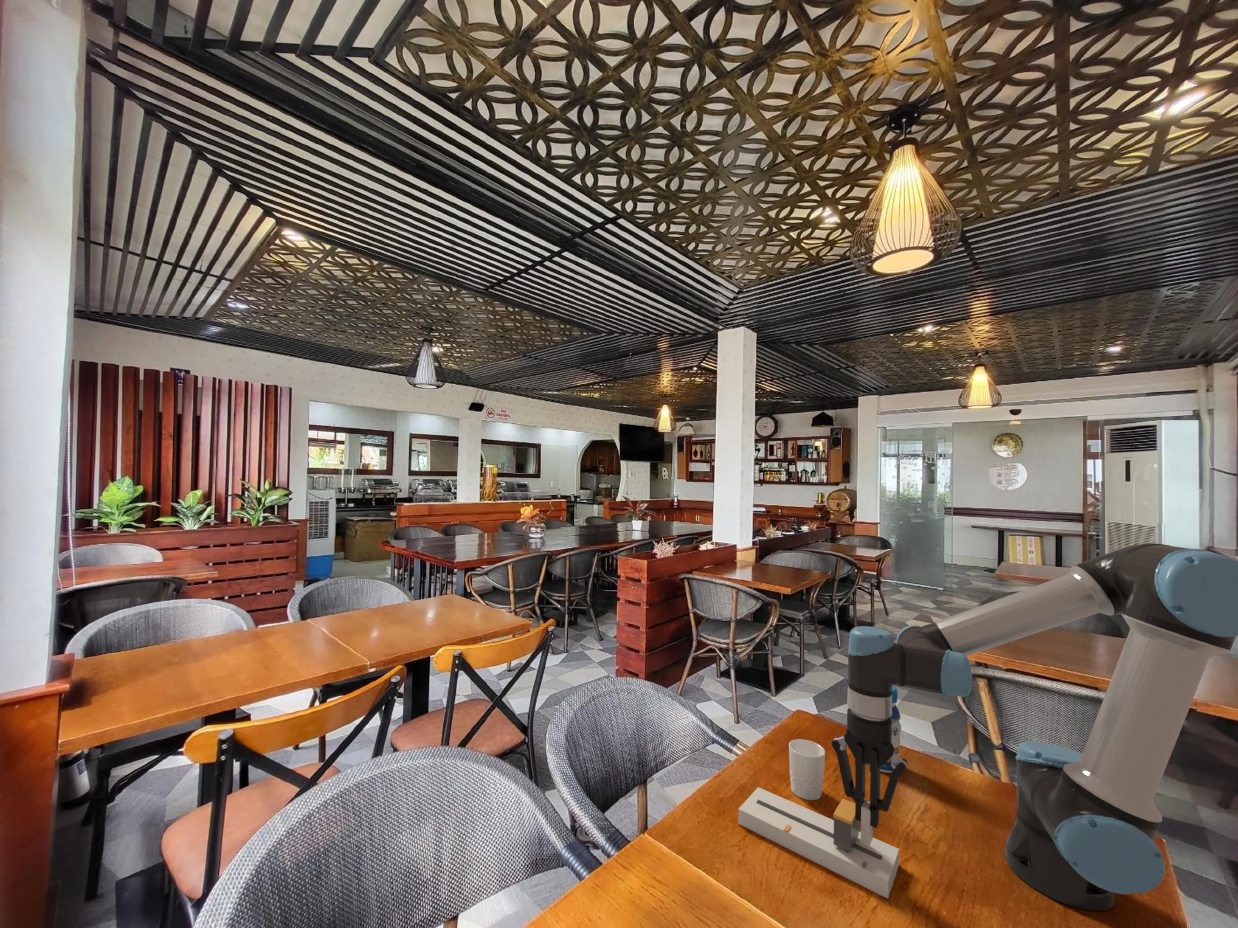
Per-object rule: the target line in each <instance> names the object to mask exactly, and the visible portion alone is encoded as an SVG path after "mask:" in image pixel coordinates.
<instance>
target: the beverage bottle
mask: <svg viewBox="0 0 1238 928" xmlns="http://www.w3.org/2000/svg"><path fill="white" fill-rule="evenodd" d="M898 692H899V691H898V688H896V686H895V685H893V686H892V715H891V717H890V718H891V720H892V735H891V741H892V745H893V747H894V752H895V753H896V754H897V755H898V756H899V757H900V758H901V749H900V748H901V731H902V725H901V723H900V720H901V717H902V716H901V713H900V710H899V708H898V706H897V705H896V704H897V702H898ZM891 763H892V760H891V758H890V759H889V760H887V761H886V762H885V763H884V764H883V765H882V766H881V770H880V773H886V774H891V773H892V771H893V767H892V766H891ZM867 765H868V766H869V767H870V765H869V764H867Z"/></svg>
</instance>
